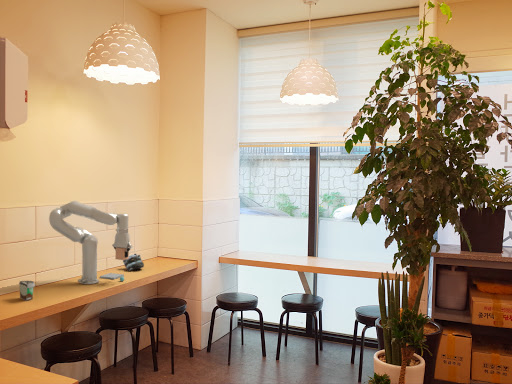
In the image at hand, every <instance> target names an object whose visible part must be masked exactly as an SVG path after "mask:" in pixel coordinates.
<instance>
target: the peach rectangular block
mask: <svg viewBox="0 0 512 384" xmlns="http://www.w3.org/2000/svg"><path fill="white" fill-rule="evenodd" d="M128 248H129V247H128ZM125 252H126V251H125V248H116V251H115V260H119V261H123V260H125V259H129V256H130V255H129V254H130V250H129V251H128V257H126V258H125Z"/></svg>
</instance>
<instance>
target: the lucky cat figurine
mask: <svg viewBox="0 0 512 384" xmlns="http://www.w3.org/2000/svg"><path fill="white" fill-rule="evenodd" d="M122 263H123V265H124V267H125V270H126V272H130V271H134V270H141V269H143V268H144V267H145V264H144V261H142V258H141V254H137V253H134V254H130V255H129V259H125V260H122Z"/></svg>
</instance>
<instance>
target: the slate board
mask: <svg viewBox="0 0 512 384" xmlns="http://www.w3.org/2000/svg"><path fill="white" fill-rule="evenodd" d="M124 276H125V274H121V273H112V272H110V273H109V272H108V273H107V274H106V273H105V274H102V275H100V276H99V278H100V279H108V280H117V279H120V277H124Z"/></svg>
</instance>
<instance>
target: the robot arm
mask: <svg viewBox="0 0 512 384" xmlns="http://www.w3.org/2000/svg"><path fill="white" fill-rule="evenodd" d="M59 207H60V208H58V207H56V208H55V209H52V210H51V212H50V213H49V217H48V220H49V221H48V222H49V225H50V226H51V228H52V229H53V230H54V231H56V232H57V233H59V234H60V235H62V236H64V237H65V238H67V239H68V240H70V241H71V242H73V243H78V244H81V252H82V253H81V254H82V255H81V258H82V260H81V264H82V265H81V267H82V270H81V272H82V274H81V275H82V276H81V277H80V278H79V279H78V280H77V282H78V283H80V284H81V285H93V284H98V283H99V282H100V279H98V277H97V276H98V245H99V244H98V243H99V241H98V238H97V237H96V236H95V235H94V234H93V233H91V232H89V231H87V230H86V229H84V228H82V227H79V226H73V225H72V224H70V223H68V222H67V221H65V220H64V219H66V218H68V217H70V216H73V215H76V216H78V217H82V218H86V219H87V220H88V219H89V220H91V221H94V222H98V223H100V224H104V225H106V226H107V225H108V226H114V225H115V224H116V229H115V231H116V233H115V236H114V243H113V244H112V247H113V249H114V250H115V252H116V248H125V251H126V252H125V258H126V257H128V251H129V252H130V251H131V249H132V248H133V246H132V244H131V243H130V242H131V239H130V234H129V214H127V213H115V212H113V213H111V212H110V213H109V212H108V213H107V212H104V211H101V210H100V209H97V208H96V207H94V206H91V205H88V204H85V203H81V202H79V201H78V200H73V201H70V202H68V203H65V204H63V205H61V206H59ZM128 247H129V248H128Z"/></svg>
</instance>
